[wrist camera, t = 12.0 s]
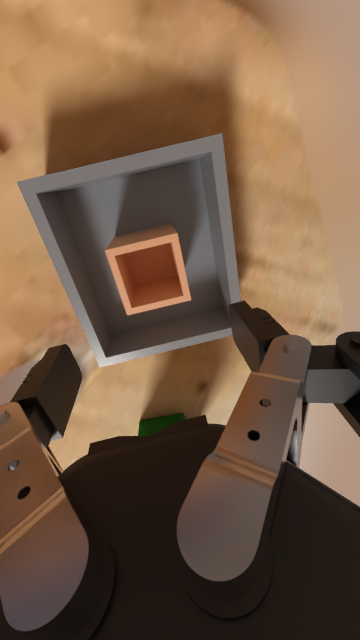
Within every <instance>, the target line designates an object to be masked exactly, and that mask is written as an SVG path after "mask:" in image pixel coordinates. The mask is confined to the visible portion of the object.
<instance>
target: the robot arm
mask: <svg viewBox="0 0 360 640" xmlns="http://www.w3.org/2000/svg"><path fill="white" fill-rule="evenodd" d="M229 313H230V321H231V328H232V334H233V338H234V341H235V344H236V345H237V347H238V349H239V351H240V352H241V354H242V356H243V357H244V359H245V361H246V363H247V364H248V366H249V368H250V369H251V371H252V372H251V373H250V375H249V377H248V379H247V381H246V384H245V386H244V388H243V390H242V392H241V394H240V397H239V399H238V401H237V403H236V405H235V407H234V410H233V412H232V414H231V416H230V418H229V420H228V423H227V425H226V426H225V425H221V424H208V423H207V419H206V415H203V416H199V417H195V418H190V419H186V420H182V421H178V422H176V423H174V424H172V425H170V426H167V427H165V428H163V429H161V430H159V431H157V432H155V433H153V434H151V435H148V436H118V437H114V438H110V439H106V440H102V441H98V442H94V443H90V447H89V452H88V454H87V455H85V456H84V457H82V458H80V459H79V460H77V461H76V462H74V463H73V464H71V465H70V466H69V467H68V468H67V469H66V470H64V471H63V469H62V467H61V466H60V464H59V462H58V460H57V459H56V457H55V455H54V454H53V452H52V450H51V449H50V447H49V446H48V445H49V443H50V441H52V440H56V439H60V438H63V435H64V432H65V429H66V426H67V423H68V420H69V417H70V414H71V411H72V408H73V405H74V402H75V399H76V396H77V393H78V390H79V387H80V384H81V381H82V375H81V370H80V368H79V366H78V364H77V362H76V360H75V358H74V356H73V354H72V352H71V350H70V348H69V347H68V345H66V344H63V345H59V346H55V347H51V348H49V349H48V350H47V352H46V353H45V355H44V356H43V358H42V360H40V361H39V362H38V363H37V364H36V365H35V366H34V367H32V369H31V370H30V372H29V373H28V375H27V377H26V378H25V380H24V381H23V384H21V386H20V387H19V389H18V390H17V392H16V394H15V395H14V397H13V398H12V400H11V402H10V403H6V404H4V405H2V406H0V640H360V507H359V506H358V505H356V504H354V503H353V502H351V501H350V500H348V499H346V498H345V497H343V496H342V495H340V494H339V493H337V492H336V491H334V490H332V489H331V488H329V487H328V486H326V485H324V484H323V483H321V482H320V481H318V480H317V479H315V478H314V477H312V476H310V475H309V474H307V473H306V472H304V471H303V470H301V469H299V464H300V457H301V447H302V440H303V434H304V429H305V423H306V418H307V413H308V408H309V403H333V404H334V405H335V406H336V408H337V409H338V410H339V411H340V413H341V414H342V415H343V417H344V418H345V419H346V420H347V422H348V423H349V424H350V425H351V427H352V428H353V429H354V431H355V432H356V433H357V434H358V436H359V437H360V332H346V333H343V334H341V335H339V336H338V337H337V339H336V345H324V346H314V345H311V343H310V342H309V341H308V340H307V339H306V338H304V337H301V336H297V335H290V334H289V333H288V332H287V331H286V330H285V329H284V328H283V327H282V326H281V325H280V324H279V323H278V322H276V320H275V319H274V318H273V317H272V316H271V315H270V314H269V313H268V312H267V311H265V310H262V309H260V308H254V309H252V308H251V307H250V306H249V305H248V304H247V303H246V301H240V302H236V303H232V304H229Z"/></svg>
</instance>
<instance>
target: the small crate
mask: <svg viewBox="0 0 360 640" xmlns="http://www.w3.org/2000/svg"><path fill="white" fill-rule="evenodd" d="M105 253H106V255H107V258H108V261H109V264H110V267H111V270H112V273H113V276H114V279H115V282H116V284H117V287H118V290H119V293H120V296H121V299H122V302H123V305H124V308H125V311H126V314H127V315H132V314H136V313H140V312H144V311H148V310H152V309H157V308H161V307H165V306H169V305H173V304H177V303H182V302H186V301H190V300H191V296H190V291H189V287H188V282H187V277H186V272H185V267H184V262H183V258H182V253H181V248H180V243H179V238H178V233H177V232H176V230H175V229H174V227H173V226H172V224H171V223H170V224H165V225H161V226H157V227H153V228H149V229H144V230H140V231H136V232H132V233H128V234H124V235H119V236H115V237H114V238H113V240H112V241H111V242H110V244H109V245H108V247H107V248H106V249H105Z"/></svg>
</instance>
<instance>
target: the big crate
mask: <svg viewBox="0 0 360 640" xmlns="http://www.w3.org/2000/svg"><path fill="white" fill-rule="evenodd" d="M17 183H18V186H19V188H20V190H21V192H22V195H23V197H24V199H25V201H26V204H27V206H28V208H29V210H30V212H31V215H32V217H33V219H34V221H35V224H36V226H37V228H38V230H39V233H40V235H41V237H42V239H43V241H44V244H45V246H46V248H47V250H48V253H49V255H50V257H51V259H52V262H53V264H54V266H55V268H56V270H57V273H58V275H59V277H60V279H61V282H62V284H63V286H64V288H65V291H66V293H67V295H68V297H69V299H70V302H71V304H72V306H73V308H74V311H75V313H76V315H77V317H78V320H79V322H80V324H81V326H82V328H83V331H84V333H85V335H86V337H87V340H88V342H89V344H90V346H91V349H92V351H93V353H94V355H95V357H96V360H97V362H98V364H99V366H100V367H104V366H108V365H112V364H116V363H121V362H125V361H129V360H133V359H137V358H141V357H146V356H150V355H154V354H158V353H162V352H166V351H170V350H175V349H179V348H183V347H187V346H191V345H195V344H199V343H204V342H208V341H212V340H216V339H220V338H224V337H228V336H233V334H232V328H231V321H230V313H229V304H232V303H236V302H240V301H241V299H240V290H239V280H238V271H237V262H236V253H235V244H234V235H233V226H232V217H231V207H230V198H229V189H228V180H227V171H226V162H225V153H224V143H223V134H222V133H220V134H216V135H212V136H208V137H204V138H199V139H195V140H191V141H187V142H183V143H178V144H174V145H170V146H166V147H162V148H158V149H153V150H149V151H145V152H141V153H137V154H132V155H128V156H124V157H120V158H116V159H111V160H107V161H103V162H99V163H95V164H90V165H86V166H82V167H78V168H74V169H70V170H65V171H61V172H57V173H53V174H49V175H44V176H40V177H36V178H32V179H28V180H23V181H19V182H17ZM170 223H171V224H172V226H173V227H174V229H175V230H176V232H177V233H178V238H179V243H180V248H181V253H182V258H183V262H184V267H185V272H186V277H187V282H188V287H189V291H190V296H191V300H190V301H186V302H182V303H177V304H173V305H169V306H165V307H161V308H157V309H152V310H148V311H144V312H140V313H136V314H132V315H127V314H126V311H125V308H124V305H123V302H122V299H121V296H120V293H119V290H118V287H117V284H116V282H115V279H114V276H113V273H112V270H111V267H110V264H109V261H108V258H107V255H106V253H105V249H106V248H107V247H108V245H109V244H110V242H111V241H112V240H113V238H114V237H115V236H119V235H124V234H128V233H132V232H136V231H140V230H144V229H149V228H153V227H157V226H161V225H165V224H170Z"/></svg>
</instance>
